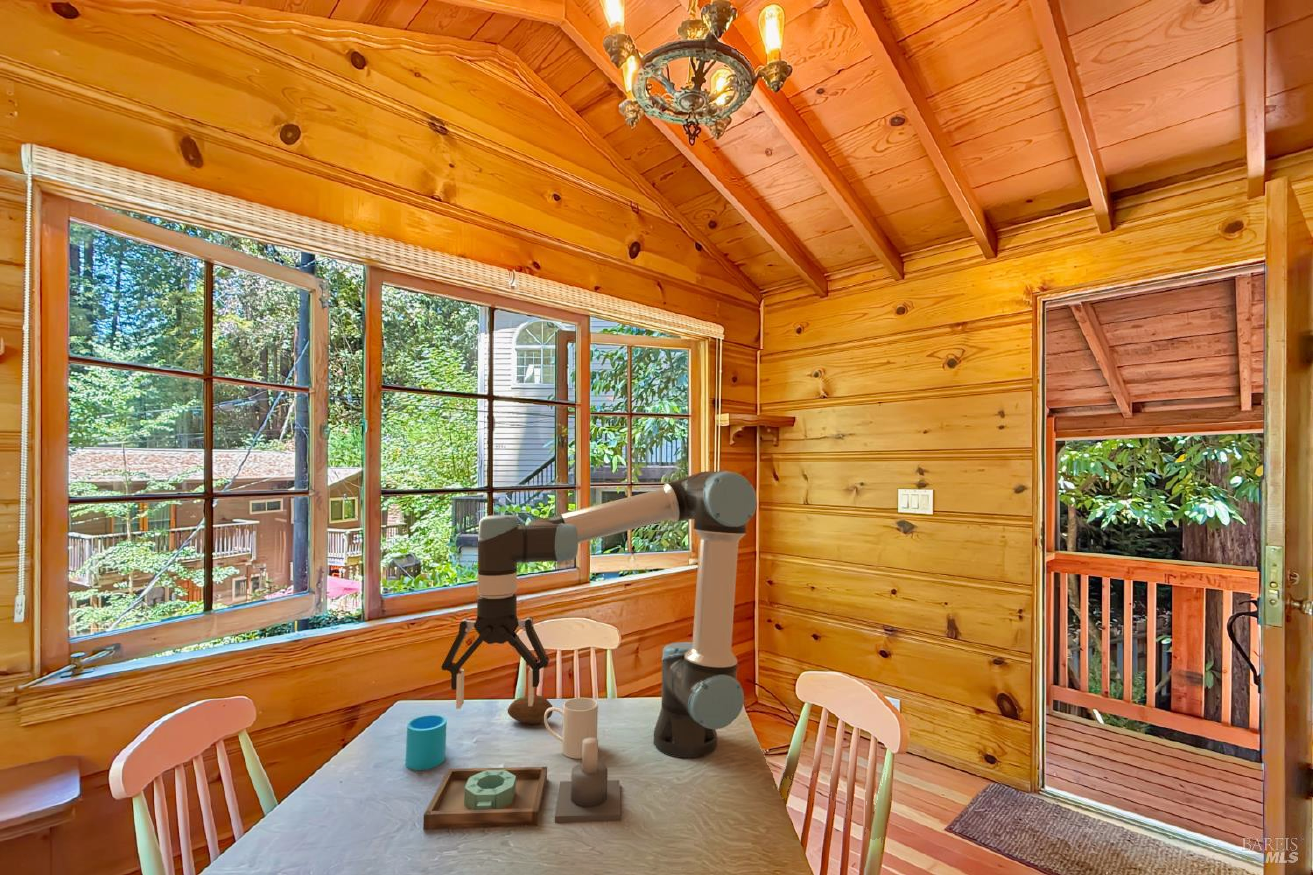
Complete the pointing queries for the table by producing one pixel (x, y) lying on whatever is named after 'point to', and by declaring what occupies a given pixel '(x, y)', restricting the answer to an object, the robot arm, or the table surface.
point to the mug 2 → (576, 724)
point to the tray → (454, 814)
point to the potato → (530, 710)
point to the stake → (588, 790)
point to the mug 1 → (426, 742)
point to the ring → (490, 790)
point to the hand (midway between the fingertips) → (495, 704)
